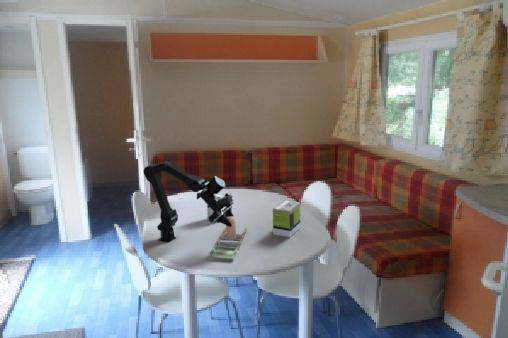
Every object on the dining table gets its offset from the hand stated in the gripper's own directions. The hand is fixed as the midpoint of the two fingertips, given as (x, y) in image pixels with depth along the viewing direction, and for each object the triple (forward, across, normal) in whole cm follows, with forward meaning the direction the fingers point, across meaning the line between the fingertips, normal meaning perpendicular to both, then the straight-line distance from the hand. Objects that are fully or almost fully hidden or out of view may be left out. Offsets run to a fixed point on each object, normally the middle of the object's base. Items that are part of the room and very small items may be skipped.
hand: (233, 224), depth 181 cm
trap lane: (+6, +4, +12) cm, 14 cm away
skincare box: (-8, +32, +26) cm, 42 cm away
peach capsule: (+4, 0, +6) cm, 7 cm away
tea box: (+23, +28, -5) cm, 37 cm away
